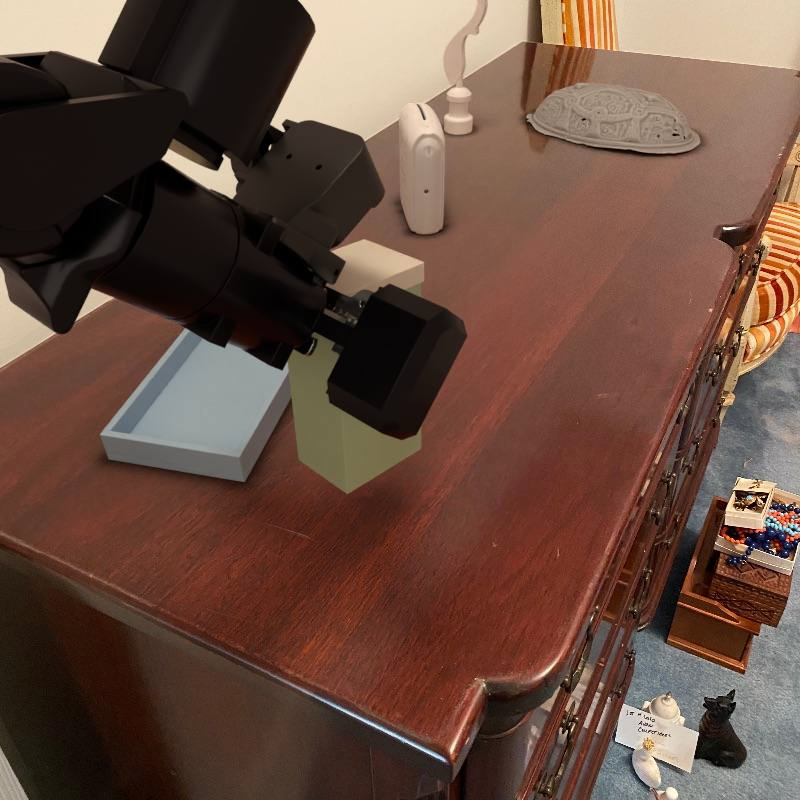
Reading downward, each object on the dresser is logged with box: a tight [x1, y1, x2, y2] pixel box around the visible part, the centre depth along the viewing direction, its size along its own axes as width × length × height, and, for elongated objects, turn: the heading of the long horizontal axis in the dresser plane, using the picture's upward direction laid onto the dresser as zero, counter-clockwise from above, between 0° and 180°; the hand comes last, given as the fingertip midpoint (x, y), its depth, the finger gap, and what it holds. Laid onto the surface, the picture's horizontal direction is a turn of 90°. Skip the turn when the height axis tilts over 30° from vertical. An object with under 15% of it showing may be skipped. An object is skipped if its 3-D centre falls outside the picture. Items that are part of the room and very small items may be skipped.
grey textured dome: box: [525, 82, 701, 155], centre depth 107 cm, size 16×25×7 cm, turn 54°
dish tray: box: [99, 328, 292, 483], centre depth 67 cm, size 29×11×3 cm, turn 166°
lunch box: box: [288, 238, 425, 495], centre depth 45 cm, size 7×5×13 cm
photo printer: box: [398, 101, 446, 235], centre depth 85 cm, size 10×4×12 cm, turn 8°
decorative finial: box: [442, 0, 489, 136], centre depth 102 cm, size 6×4×25 cm
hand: (373, 350), depth 46 cm, fingers closed on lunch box, 5 cm apart
